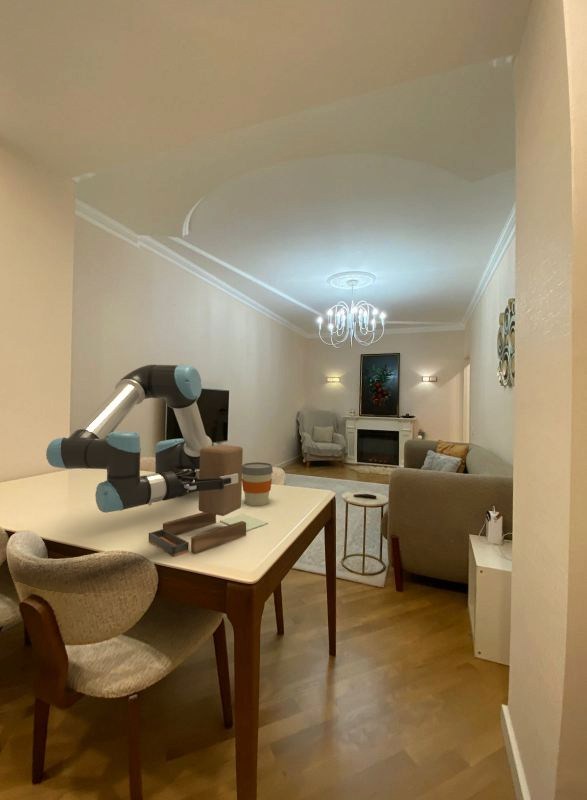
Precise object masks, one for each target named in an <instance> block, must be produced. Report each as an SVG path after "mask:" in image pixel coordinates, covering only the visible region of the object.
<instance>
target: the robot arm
mask: <svg viewBox="0 0 587 800" xmlns="http://www.w3.org/2000/svg"><path fill="white" fill-rule="evenodd" d="M202 388H203V387H202V378H201V375H200V373H199V371H198V370H197V368H196V367H195V366H194V365H193V366H192V365H186V364H146V365H142V366H140V367H138V368H136V369H134V370H132V371H131V372H129V373H127V374H126V375H124V376H123V377H122V378H121V379H120V380H118V382H117V383H116V385H115V387H114V391H113V392H112V393H111V394H109V396H108V397H106V399H105V400H104V401H103V402H102V403H101V404H99V406H98V407H97V408H96V409H95V410H94V411H93V412H92V413H91V414H90V415H89V416H88V417H87V418H86V419H85V420H84V421H83V423H81V425H79V427H78V428H76V430H75V431H73V433H72V434H71V435H70V436H69V437H58V438H55V439H53V440H51V441H50V442H49V444H48V446H47V449H46V452H45V456H46V460H47V462H48V464H49V465H50V466H51V467H53V468H60V469H67V470H68V469H73V470H77V469H81V470H82V469H83V470H84V469H85V470H86V469H87V470H88V469H89V470H92V469H93V470H106V480H104V481H103V482H99V483H98V484H97V486H96V490H95V495H94V496H95V502H96V506H97V509H99V511H100V512H102V513H106V514H107V513H111V512H118V511H119V512H120V511H124V510H128V509H132V508H136V507H140V506H147V505H148V506H152V505H153V504H154V503H158V502H162V501H168V500H173V499H176V498H178V497H182V496H184V495H186V494H188V493H190V494H191V493H197V492H199V491H206V490H216V489H220V490H222V489H224V486H225V485H230V484H235V483H238V474H232V475H227V476H221V477H219V478H205V479H199V471H200V449H201V448H203V447H208V446H213V445H219V443H217V442H213V441H212V439H211V438H210V437H209V436H208V435H207V434H206V431H205V428H204V427H205V426H204V424H203V420H202V418H201V417H202V416H201V413H200V410H199V406H198V404H197V401H198V399H199V398H200V396H201V393H202ZM146 399H164V401H165V403H166V405H167V406H168V407H169V408H171V409H172V410H173V412H174V415H175V418H176V421H177V423H178V426H179V429H180V432H181V434H182V437H183V438H172V439H167V440H161V441H158V442H157V443H156V444H155V452H154V454H155V463H154V465H155V467H154V468H155V469H154V470H155V472H154V473H153V474H146V475H141V451H142V448H141V438H140V437H141V436H140V434H139V433H138V432H137V431H131V430H130V431H129V430H127V431H125V430H122V431H115V430H116V429H117V428H118V426H119V425H120V424H121V423H122V422H123V420H124V419H125V418H126V417H127V415H128V414H129V413H130V412H131V411H132V410H133V408H134V407H135V406H137V405H139V404H140V405H141V403H143V401H144V400H146Z"/></svg>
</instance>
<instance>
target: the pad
mask: <svg viewBox="0 0 587 800" xmlns="http://www.w3.org/2000/svg"><path fill="white" fill-rule="evenodd" d="M240 521H244V522H246V533H247V532H249V531H252V530H255V529H258V528H260V527H264V526H266V525H268V524H269V523H268V521H264V520H261V519H258V518H256V517H253V516H250V515H249V514H248V515H247V514H245V513H240V514H237V515H235V516H234V515H233V516H231V517H228V518H227V517H226V518H224V519H221V520H219V522H220V523H221V524H225V525H226V526H228V525H231V524H234V523H237V522H240Z"/></svg>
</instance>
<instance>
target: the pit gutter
mask: <svg viewBox="0 0 587 800" xmlns="http://www.w3.org/2000/svg"><path fill="white" fill-rule="evenodd" d="M148 543H150V544H151V545H153V546H155V547H157V548H159V549H160V550H162V551H163V552H165V553H167V555H170V556H171V557H178V556H179V555H183V554H186V553H188V552H189V550H190V549H189V548H190V546H189V541H187V540H185V539H183V538H181V537H179V536H177V535H174V534H172V533H170V532H168V531H166V530H164V529H163V528H162V529H158V530H155V531H151V532H148Z"/></svg>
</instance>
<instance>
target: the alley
mask: <svg viewBox="0 0 587 800" xmlns="http://www.w3.org/2000/svg"><path fill="white" fill-rule="evenodd" d="M216 523H217V515H215V514H211V513H206V512H198V513H196V514H191V515H188V516H184V517H180V518H176V519H174V520H169V521H165V522H163V523H162V529H164V530H166V531H168V532H170V533H172V534H174V535H176V536H177V535H180V534H184V533H188V532H190V531H193V530H197V529H199V528H204V527H206V526H210V525H213V524H216ZM246 536H247V532H246V522H244V521H240V522H237V523H234V524H231V525H225V526H223V527H219V528H216V529H213V530H209V531H208V532H203V533H201V534H198V535H194V536H192V537H191V538H190V552H191V553H192V554H194V555H198V554H199V553H203V552H205V551H208V550H211V549H213V548H216V547H219V546H221V545H224V544H227V543H229V542H232V541H235V540H237V539H240V538H244V537H246Z"/></svg>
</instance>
